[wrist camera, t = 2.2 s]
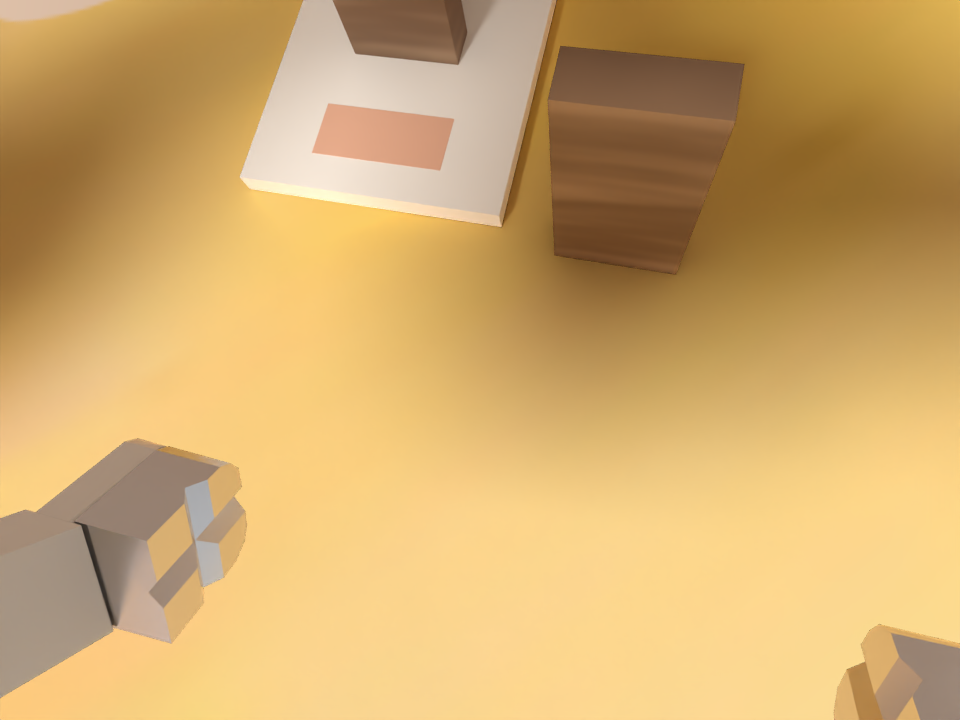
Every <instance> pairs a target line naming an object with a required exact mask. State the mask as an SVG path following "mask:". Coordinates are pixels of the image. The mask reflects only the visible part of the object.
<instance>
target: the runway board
mask: <svg viewBox="0 0 960 720" xmlns="http://www.w3.org/2000/svg"><path fill="white" fill-rule="evenodd" d="M461 1H462V6H463V12H464V17H465V22H466V27H467V36H466V39H465V43H464V46H463V50H462V54H461V57H460V61H459V64H458V65H454V64H444V63H435V62H426V61H416V60H407V59H398V58H388V57H379V56H370V55H360V54H355V52H354V50H353V47H352V45H351V43H350V40H349V38H348V36H347V33H346V31H345V29H344V26H343V24H342V22H341V19H340V17H339V14H338V12H337V10H336V7H335V5H334V3H333V0H303V3H302V6H301V8H300V11H299V14H298V17H297V19H296V22H295V25H294V28H293V30H292V33H291V36H290V39H289V42H288V44H287V47H286V50H285V53H284V55H283V58H282V61H281V64H280V67H279V69H278V72H277V75H276V78H275V80H274V83H273V86H272V89H271V92H270V94H269V97H268V100H267V103H266V105H265V108H264V111H263V114H262V116H261V119H260V122H259V125H258V128H257V130H256V133H255V136H254V139H253V141H252V144H251V147H250V150H249V153H248V155H247V158H246V161H245V164H244V166H243V169H242V172H241V175H240V178H241V179H242V180H243V182H244V183H245V184H246V185H247V186H248V187H249V188H250V189H254V190H261V191H267V192H274V193H280V194H287V195H293V196H300V197H307V198H313V199H320V200H326V201H333V202H340V203H346V204H353V205H359V206H366V207H372V208H379V209H386V210H392V211H399V212H405V213H412V214H419V215H425V216H432V217H438V218H445V219H451V220H458V221H465V222H471V223H478V224H484V225H491V226H498V227H502V223H503V219H504V214H505V210H506V206H507V202H508V198H509V194H510V190H511V186H512V182H513V178H514V173H515V169H516V165H517V161H518V157H519V153H520V149H521V145H522V141H523V137H524V132H525V128H526V124H527V120H528V116H529V112H530V108H531V104H532V100H533V95H534V91H535V87H536V83H537V79H538V75H539V71H540V67H541V63H542V59H543V54H544V50H545V46H546V42H547V38H548V34H549V30H550V26H551V22H552V18H553V13H554V9H555V5H556V1H557V0H461Z"/></svg>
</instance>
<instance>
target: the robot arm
mask: <svg viewBox="0 0 960 720" xmlns="http://www.w3.org/2000/svg"><path fill="white" fill-rule="evenodd" d="M241 487H242V484H241V479H240V473H239V468H238V467H236V466H234V465H232V464H230V463H227V462H224V461H220V460H216V459H213V458H209V457H206V456H202V455H198V454H195V453H191V452H188V451H184V450H180V449H177V448H173V447H170V446H168V447H167V446H163V445H160V444H156V443H152V442H149V441H145V440H142V439H138V438H137V439H133V440H129V441H125V442H124V443H122V444H121V445H120V446H119V447H117V448H116V449H115V450H114V451H112V452H111V453H110V454H109V455H107V456H106V457H105V458H104V459H102V460H101V461H100V462H99V463H97V464H96V465H95V466H93V467H92V468H91V469H90V470H88V471H87V472H86V473H85V474H83V475H82V476H81V477H80V478H78V479H77V480H76V481H75V482H73V483H72V484H71V485H70V486H68V487H67V488H66V489H65V490H63V491H62V492H61V493H59V494H58V495H57V496H56V497H54V498H53V499H52V500H51V501H49V502H48V503H47V504H46V505H44V506H43V507H42V508H41V509H39V510H38V511H37V512H33V511H29V510H23V511H20V512H17V513H14V514H11V515H9V516H6V517H3V518H0V698H1V697H3V696H4V695H6V694H8V693H9V692H11V691H13V690H15V689H16V688H18V687H20V686H21V685H23V684H25V683H26V682H28V681H30V680H32V679H33V678H35V677H37V676H38V675H40V674H42V673H43V672H45V671H47V670H48V669H50V668H52V667H54V666H55V665H57V664H59V663H60V662H62V661H64V660H65V659H67V658H69V657H71V656H72V655H74V654H76V653H77V652H79V651H81V650H82V649H84V648H86V647H87V646H89V645H91V644H93V643H94V642H96V641H98V640H99V639H101V638H103V637H104V636H106V635H108V634H110V633H111V632H113V627H114V628H117V629H121V630H125V631H128V632H132V633H135V634H139V635H143V636H146V637H150V638H153V639H157V640H161V641H164V642H168V643H173V641H174V640H175V639H176V638H177V636H178V635H179V634H180V633H181V631H182V630H183V629H184V627H185V626H186V625H187V624H188V622H189V621H190V620H191V619H192V617H193V616H194V615H195V614H196V612H197V611H198V610H199V609H200V607H201V606H202V605H203V603H204V587H205V586H207V585H209V584H211V583H213V582H215V581H217V580H220V579H222V578H224V577H225V575H226V574H227V573H228V571H229V570H230V569H231V567H232V566H233V565H234V563H235V562H236V560H237V558H238V556H239V553H240V551H241V549H242V546H243V544H244V541H245V536H246V528H247V521H246V513H245V510H244V509H243V508H242V506H241V505H240V504H239V502H238V501H237V500H236V499H235V497H234V495H235V494H236V493H237V492H238V491H239V490H240V489H241ZM861 647H862V651H863V654H864V658H865V662H863V663H861V664H859V665H856V666H854V667H851V668H849V669H847V670H846V672H845V674H844V676H843V678H842V680H841V682H840V684H839V686H838V688H837V694H836V701H835V707H834V720H960V643H956V642H952V641H947V640H943V639H939V638H935V637H931V636H926V635H922V634H918V633H914V632H910V631H906V630H901V629H897V628H893V627H889V626H885V625H881V624H878V625H877V626H875V627H874V628H872V629H871V630H869V632H868V634H867V635H866V637H865V639H864V640H863V642H862V644H861Z"/></svg>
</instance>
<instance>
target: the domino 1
mask: <svg viewBox="0 0 960 720" xmlns="http://www.w3.org/2000/svg"><path fill="white" fill-rule="evenodd" d="M333 3H334V5H335V7H336V10H337V12H338V14H339V17H340V19H341V22H342V24H343V26H344V29H345V31H346V33H347V36H348V38H349V40H350V43H351V45H352V47H353V50H354V52H355V54H360V55H370V56H379V57H388V58H398V59H407V60H416V61H426V62H435V63H444V64H454V65H458V64H459V61H460V57H461V54H462V50H463V46H464V43H465V39H466V36H467V27H466V22H465V17H464V12H463V6H462V1H461V0H333Z"/></svg>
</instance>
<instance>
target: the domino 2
mask: <svg viewBox="0 0 960 720" xmlns="http://www.w3.org/2000/svg"><path fill="white" fill-rule="evenodd" d="M743 70H744V64H739V63H729V62H718V61H708V60H698V59H688V58H678V57H668V56H657V55H647V54H637V53H627V52H617V51H606V50H596V49H586V48H576V47H566V46H560V51H559V55H558V59H557V63H556V67H555V72H554V76H553V80H552V84H551V89H550V93H549V97H548V115H549V138H550V161H551V184H552V207H553V230H554V253H555V255H556V256H562V257H568V258H575V259H581V260H588V261H594V262H600V263H607V264H613V265H619V266H626V267H632V268H638V269H645V270H651V271H658V272H664V273H670V274H676V273H677V270H678V267H679V265H680V262H681V260H682V257H683V255H684V252H685V250H686V247H687V244H688V242H689V239H690V237H691V234H692V232H693V229H694V226H695V224H696V221H697V219H698V216H699V214H700V211H701V209H702V206H703V203H704V201H705V198H706V196H707V193H708V191H709V188H710V186H711V183H712V180H713V178H714V175H715V173H716V170H717V168H718V165H719V162H720V160H721V157H722V155H723V152H724V150H725V147H726V145H727V142H728V139H729V137H730V134H731V132H732V129H733V127H734V124H735V122H736V115H737V109H738V102H739V96H740V89H741V83H742V76H743Z"/></svg>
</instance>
